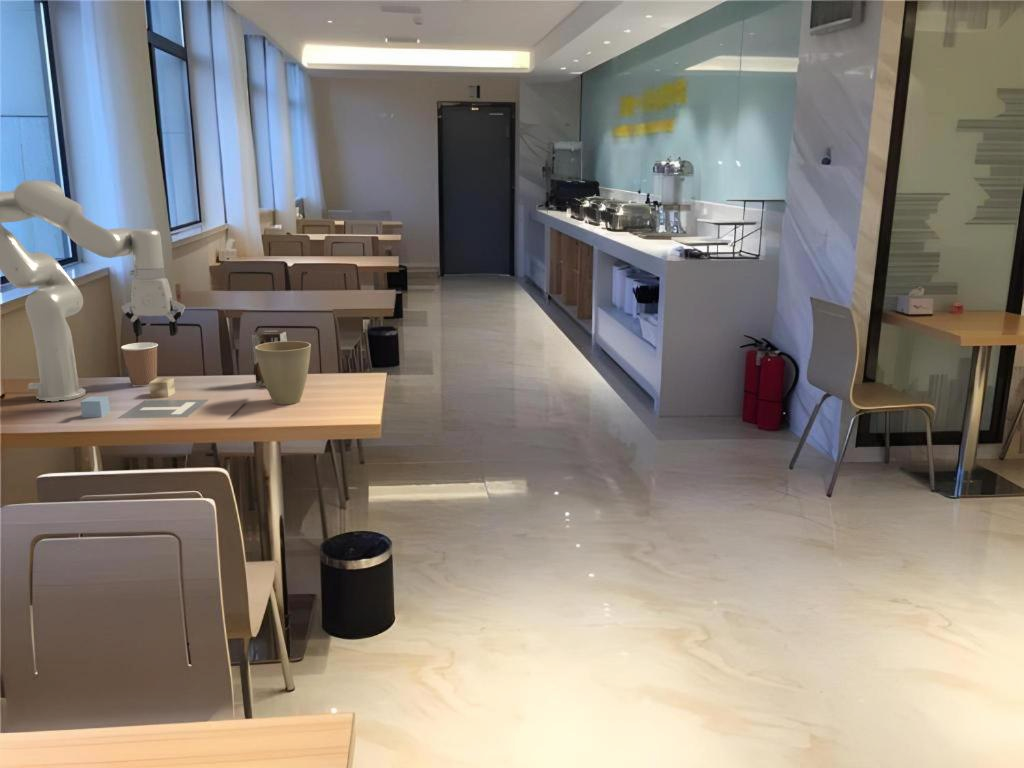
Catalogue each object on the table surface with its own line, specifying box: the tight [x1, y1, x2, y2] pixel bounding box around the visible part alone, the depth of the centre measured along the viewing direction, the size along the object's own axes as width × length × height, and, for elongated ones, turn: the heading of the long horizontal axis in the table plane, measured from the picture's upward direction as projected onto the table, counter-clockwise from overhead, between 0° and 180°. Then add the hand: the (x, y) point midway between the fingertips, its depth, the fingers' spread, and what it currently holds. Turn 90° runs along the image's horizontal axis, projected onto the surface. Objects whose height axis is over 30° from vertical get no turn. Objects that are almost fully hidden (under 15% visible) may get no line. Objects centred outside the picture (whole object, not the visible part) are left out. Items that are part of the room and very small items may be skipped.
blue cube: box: [80, 395, 111, 418], centre depth 219 cm, size 5×5×5 cm
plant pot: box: [255, 340, 312, 406], centre depth 232 cm, size 15×15×16 cm
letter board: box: [117, 399, 210, 419], centre depth 225 cm, size 18×18×1 cm
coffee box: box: [251, 329, 289, 387], centre depth 252 cm, size 9×6×16 cm
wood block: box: [149, 377, 176, 398], centre depth 239 cm, size 5×5×5 cm
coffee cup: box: [120, 342, 159, 387], centre depth 253 cm, size 10×10×12 cm
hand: (156, 335), depth 235 cm, fingers open, 9 cm apart
